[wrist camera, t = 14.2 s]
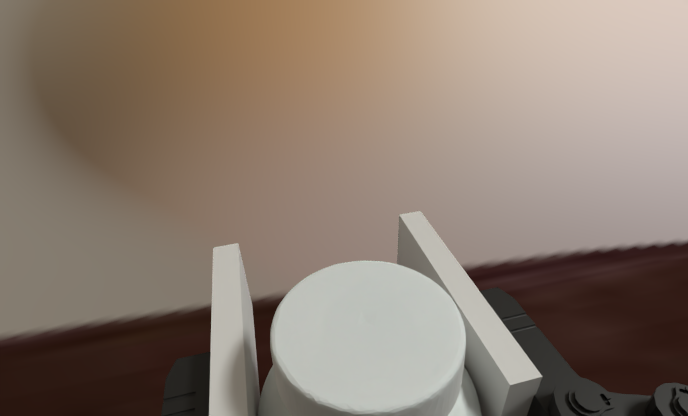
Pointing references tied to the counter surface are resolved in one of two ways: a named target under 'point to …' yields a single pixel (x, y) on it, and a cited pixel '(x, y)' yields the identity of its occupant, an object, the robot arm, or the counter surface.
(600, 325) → the counter surface
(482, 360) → the robot arm
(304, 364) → the pill bottle
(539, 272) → the counter surface
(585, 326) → the counter surface
